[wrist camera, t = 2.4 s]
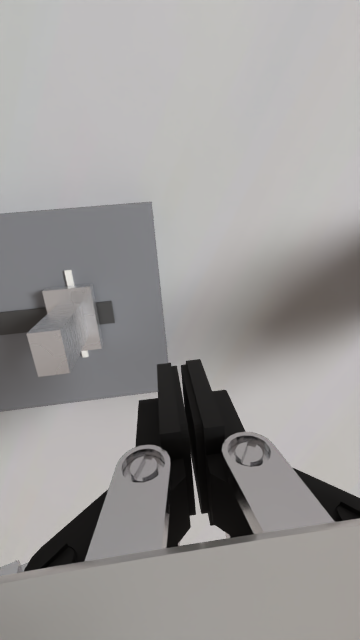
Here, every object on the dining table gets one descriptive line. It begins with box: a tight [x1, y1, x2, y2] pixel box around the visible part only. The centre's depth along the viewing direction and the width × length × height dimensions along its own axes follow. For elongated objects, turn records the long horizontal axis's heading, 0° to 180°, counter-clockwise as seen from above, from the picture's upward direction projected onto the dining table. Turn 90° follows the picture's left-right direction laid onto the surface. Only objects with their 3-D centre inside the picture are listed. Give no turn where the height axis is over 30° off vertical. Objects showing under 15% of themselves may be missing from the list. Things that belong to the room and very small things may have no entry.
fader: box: [27, 284, 103, 377], centre depth 17 cm, size 4×3×6 cm
